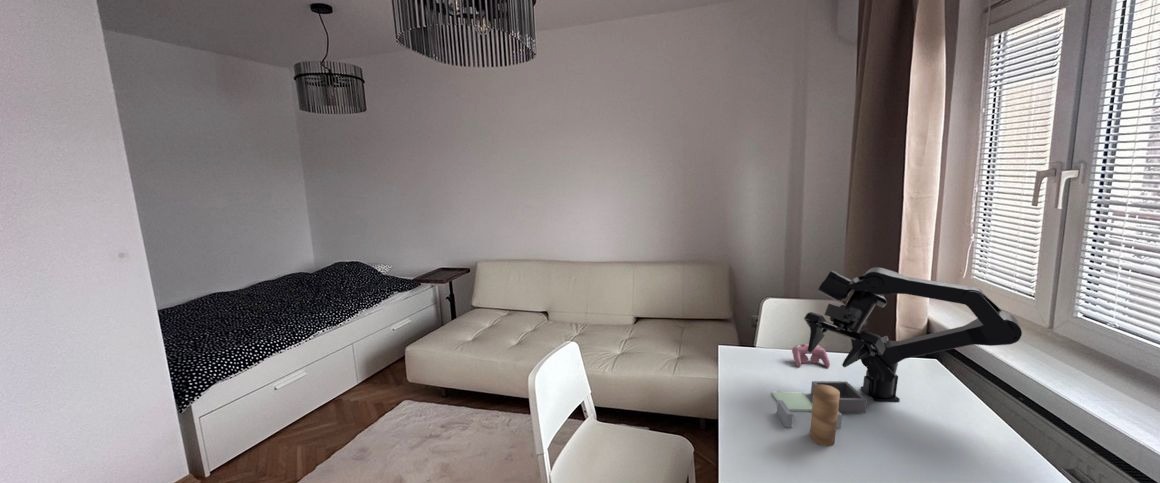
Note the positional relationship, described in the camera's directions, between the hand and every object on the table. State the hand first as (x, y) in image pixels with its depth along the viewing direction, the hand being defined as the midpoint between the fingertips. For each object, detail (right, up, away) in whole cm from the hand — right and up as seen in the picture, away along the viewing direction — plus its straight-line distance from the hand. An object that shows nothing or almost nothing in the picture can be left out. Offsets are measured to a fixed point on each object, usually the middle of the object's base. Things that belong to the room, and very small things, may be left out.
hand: (825, 358), depth 111 cm
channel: (-8, -13, -6) cm, 17 cm away
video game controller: (+8, -8, +22) cm, 25 cm away
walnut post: (-8, -15, -13) cm, 21 cm away
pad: (-8, -12, +1) cm, 14 cm away
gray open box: (+3, -12, +1) cm, 12 cm away
